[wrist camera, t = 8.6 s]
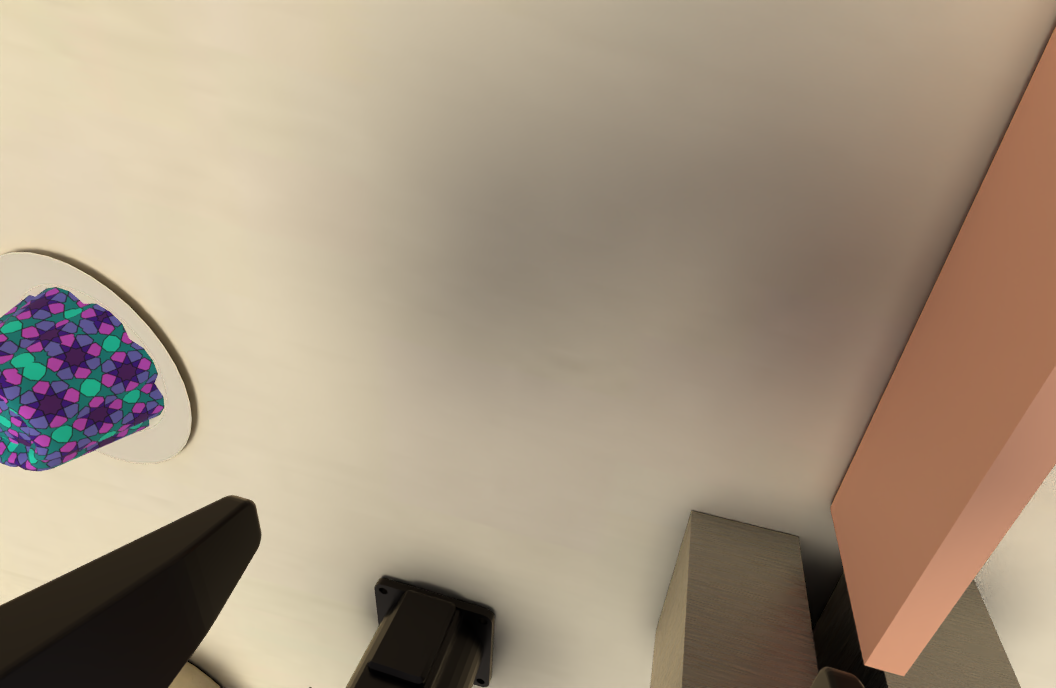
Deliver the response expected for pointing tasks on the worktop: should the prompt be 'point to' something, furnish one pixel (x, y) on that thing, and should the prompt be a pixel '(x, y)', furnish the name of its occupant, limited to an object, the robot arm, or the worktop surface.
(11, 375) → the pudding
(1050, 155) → the salmon pink plank
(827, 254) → the worktop surface
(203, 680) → the sugar bowl
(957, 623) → the grey upright box
